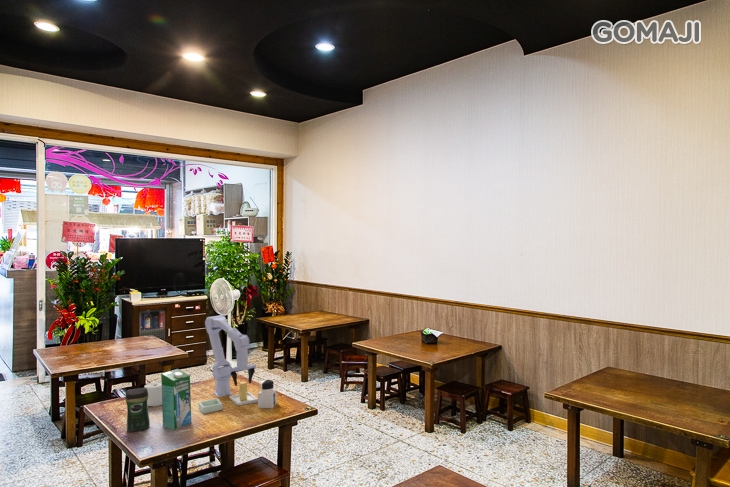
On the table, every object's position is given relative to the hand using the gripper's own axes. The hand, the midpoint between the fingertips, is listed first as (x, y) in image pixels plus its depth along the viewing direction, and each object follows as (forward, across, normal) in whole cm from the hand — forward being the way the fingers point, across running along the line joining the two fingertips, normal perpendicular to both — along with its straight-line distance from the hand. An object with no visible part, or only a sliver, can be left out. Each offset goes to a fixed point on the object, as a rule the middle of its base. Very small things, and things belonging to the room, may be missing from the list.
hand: (242, 384), depth 252 cm
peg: (+8, 0, 0) cm, 8 cm away
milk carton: (+9, -36, -14) cm, 40 cm away
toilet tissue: (+9, -40, +25) cm, 48 cm away
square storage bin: (+9, -18, -3) cm, 20 cm away
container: (+9, +8, -15) cm, 19 cm away
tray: (+9, 0, 0) cm, 9 cm away
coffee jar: (+9, -52, -8) cm, 53 cm away
